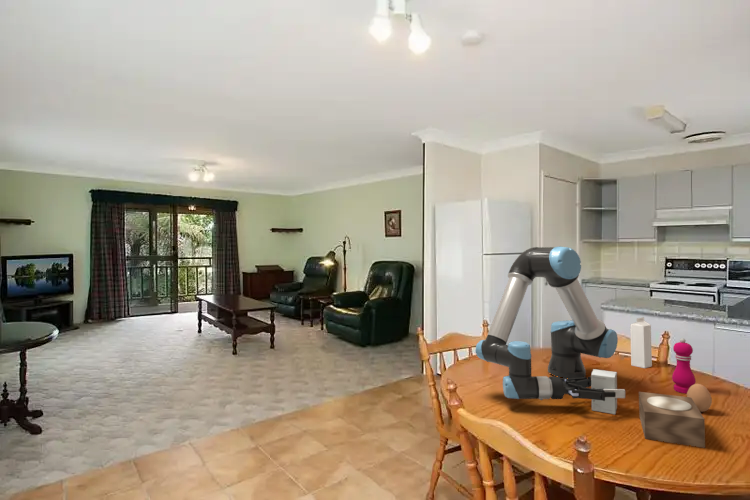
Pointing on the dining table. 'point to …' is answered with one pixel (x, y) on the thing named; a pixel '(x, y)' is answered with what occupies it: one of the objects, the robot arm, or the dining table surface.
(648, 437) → the walnut riser
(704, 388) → the egg
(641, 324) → the milk
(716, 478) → the dining table surface
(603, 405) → the supplement box
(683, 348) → the pepper mill
